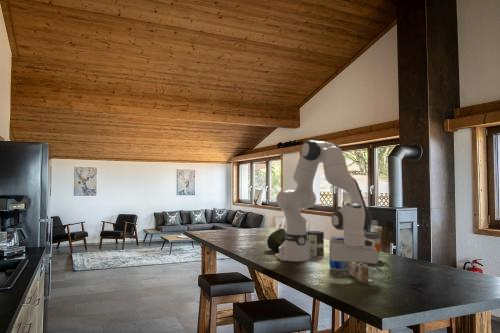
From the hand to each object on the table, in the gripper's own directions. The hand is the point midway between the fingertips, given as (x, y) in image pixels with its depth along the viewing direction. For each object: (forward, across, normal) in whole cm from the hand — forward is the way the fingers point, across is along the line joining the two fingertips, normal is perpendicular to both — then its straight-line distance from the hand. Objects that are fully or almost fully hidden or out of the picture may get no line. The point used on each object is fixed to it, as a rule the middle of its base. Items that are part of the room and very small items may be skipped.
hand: (353, 272), depth 167 cm
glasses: (+4, +10, +30) cm, 31 cm away
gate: (+3, +1, +3) cm, 4 cm away
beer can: (+4, -6, +20) cm, 21 cm away
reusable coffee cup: (+4, +12, +51) cm, 52 cm away
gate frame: (+3, +2, +5) cm, 6 cm away
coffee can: (+5, -19, +53) cm, 57 cm away
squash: (+5, -42, +64) cm, 77 cm away
